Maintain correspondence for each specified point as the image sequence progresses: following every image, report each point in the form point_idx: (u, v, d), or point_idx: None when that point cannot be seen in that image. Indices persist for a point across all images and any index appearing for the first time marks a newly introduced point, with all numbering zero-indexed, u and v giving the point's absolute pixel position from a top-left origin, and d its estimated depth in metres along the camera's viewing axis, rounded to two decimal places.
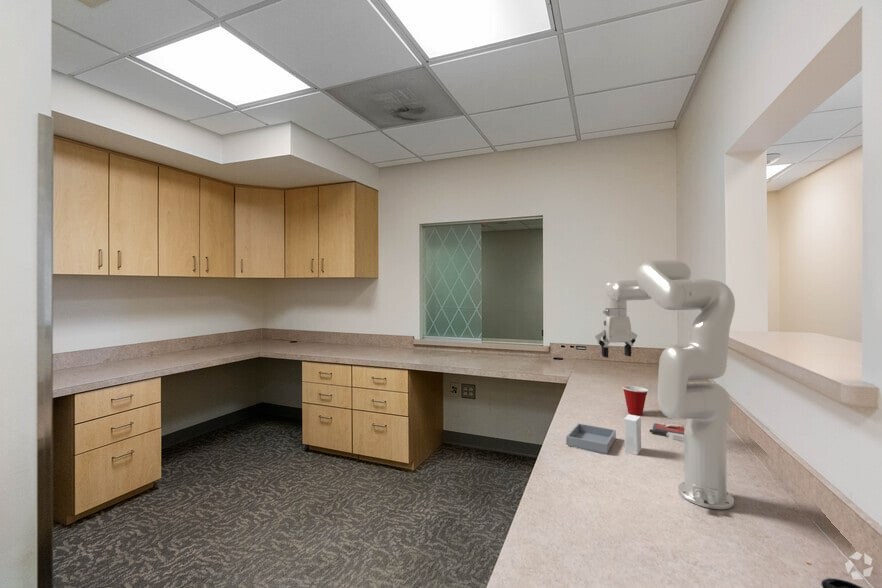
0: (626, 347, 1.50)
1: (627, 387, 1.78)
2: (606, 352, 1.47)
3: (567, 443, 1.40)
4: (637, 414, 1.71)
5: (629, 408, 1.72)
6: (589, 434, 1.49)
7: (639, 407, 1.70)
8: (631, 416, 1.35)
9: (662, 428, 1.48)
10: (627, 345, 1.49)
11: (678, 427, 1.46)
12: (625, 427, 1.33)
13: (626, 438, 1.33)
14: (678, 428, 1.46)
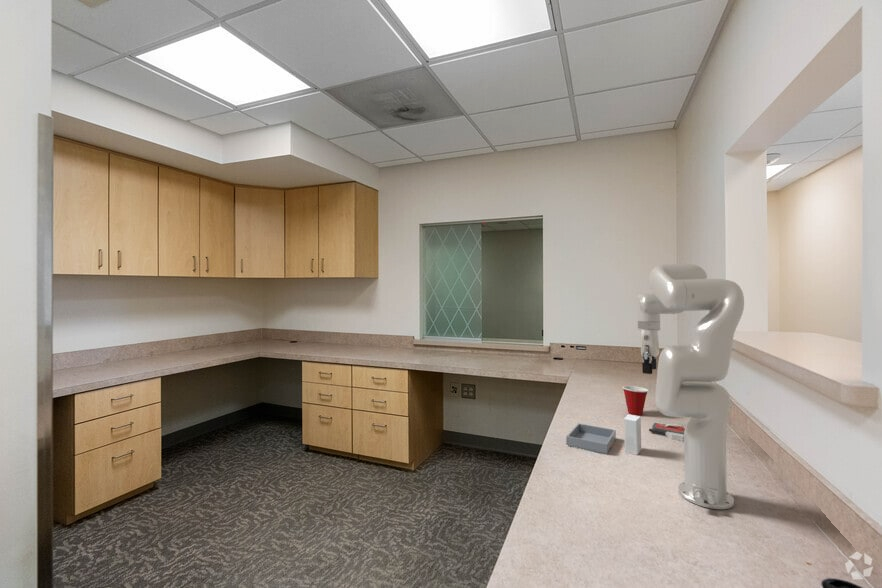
0: (650, 360, 1.47)
1: (627, 387, 1.78)
2: (651, 368, 1.39)
3: (567, 443, 1.40)
4: (637, 414, 1.71)
5: (629, 408, 1.72)
6: (589, 434, 1.49)
7: (639, 407, 1.70)
8: (631, 416, 1.35)
9: (661, 427, 1.49)
10: (651, 358, 1.47)
11: (677, 427, 1.46)
12: (625, 427, 1.33)
13: (626, 438, 1.33)
14: (677, 428, 1.46)
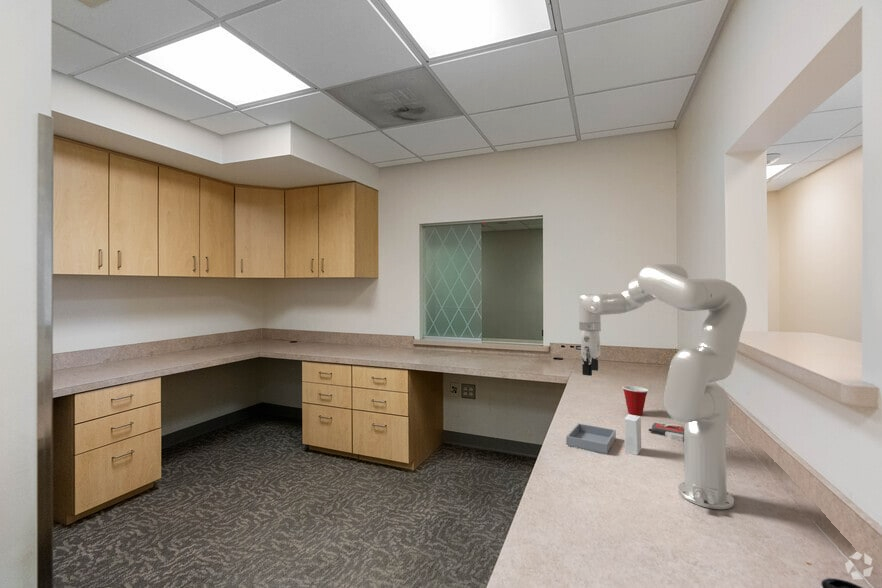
0: (592, 361, 1.46)
1: (627, 387, 1.78)
2: (590, 370, 1.37)
3: (567, 443, 1.40)
4: (637, 414, 1.71)
5: (629, 408, 1.72)
6: (589, 434, 1.49)
7: (639, 407, 1.70)
8: (631, 416, 1.35)
9: (661, 427, 1.49)
10: (593, 359, 1.46)
11: (677, 427, 1.47)
12: (625, 427, 1.33)
13: (626, 438, 1.33)
14: (677, 428, 1.47)
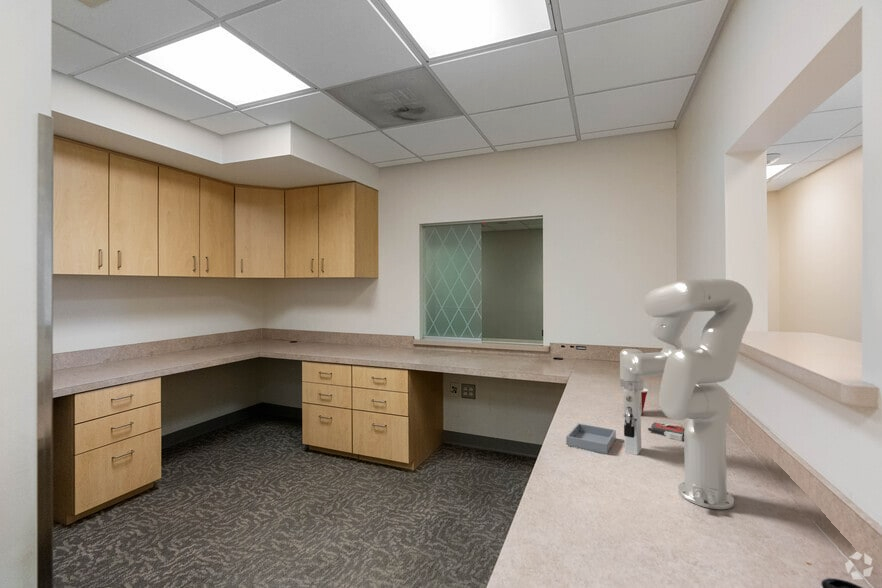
0: None
1: None
2: (633, 431, 1.30)
3: (567, 443, 1.40)
4: None
5: None
6: (589, 434, 1.49)
7: None
8: (631, 416, 1.35)
9: (660, 427, 1.49)
10: None
11: (676, 427, 1.47)
12: None
13: (626, 438, 1.33)
14: (676, 428, 1.47)
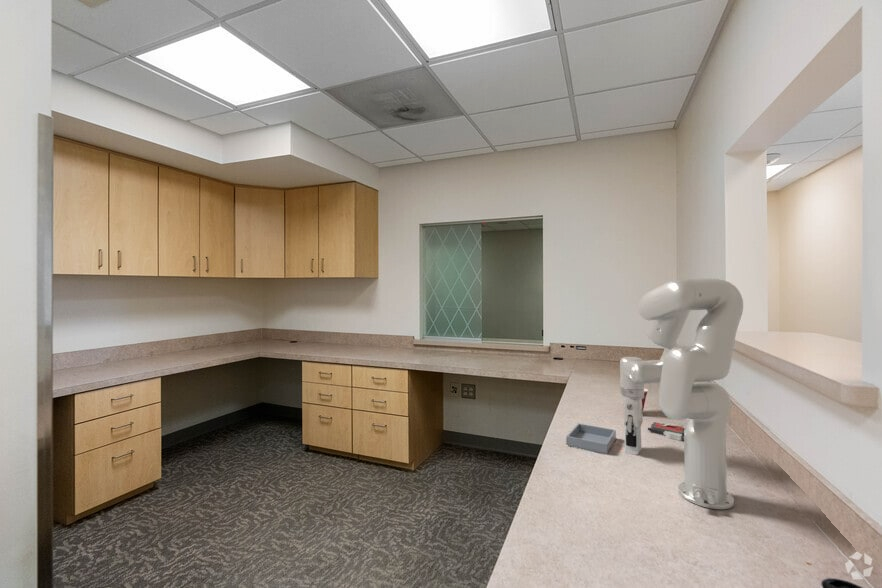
0: None
1: None
2: (635, 441, 1.31)
3: (567, 443, 1.40)
4: None
5: None
6: (589, 434, 1.49)
7: None
8: None
9: (660, 427, 1.49)
10: None
11: (676, 426, 1.47)
12: (625, 427, 1.33)
13: None
14: (676, 427, 1.47)
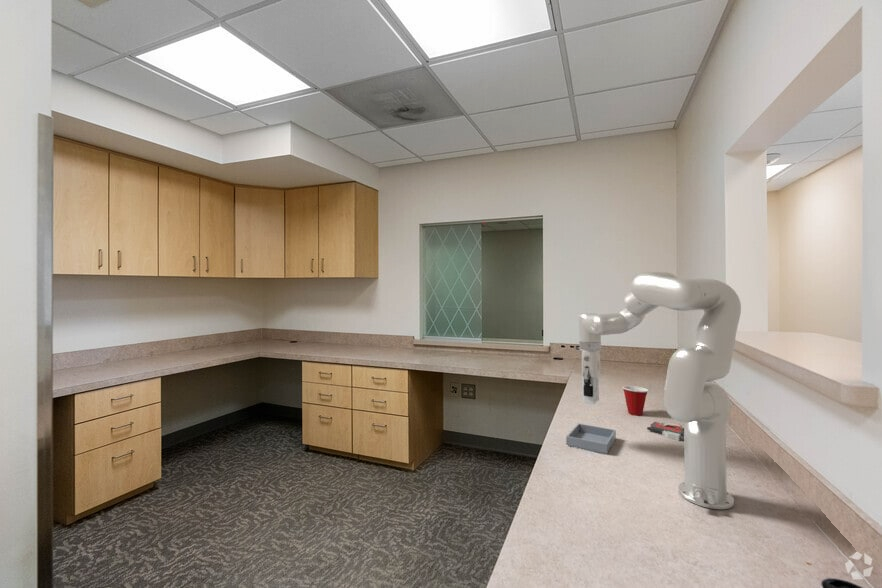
0: None
1: (627, 387, 1.78)
2: (591, 391, 1.38)
3: (567, 443, 1.40)
4: (637, 414, 1.71)
5: (629, 408, 1.72)
6: (589, 434, 1.49)
7: (639, 407, 1.70)
8: None
9: (659, 426, 1.50)
10: None
11: (675, 426, 1.47)
12: (583, 378, 1.41)
13: None
14: (675, 427, 1.47)
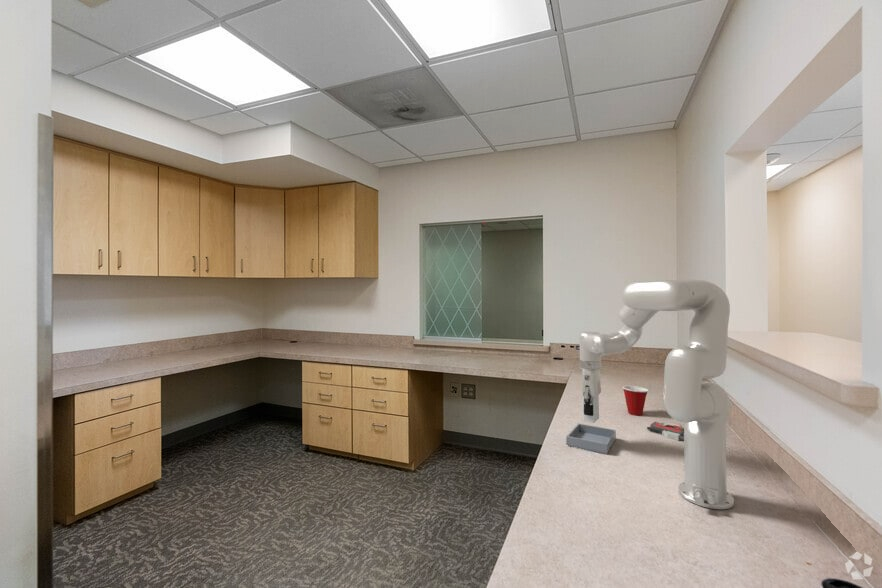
0: None
1: (627, 387, 1.78)
2: (591, 410, 1.39)
3: (567, 443, 1.40)
4: (637, 414, 1.71)
5: (629, 408, 1.72)
6: (589, 434, 1.49)
7: (639, 407, 1.70)
8: None
9: (659, 426, 1.50)
10: None
11: (675, 426, 1.47)
12: (583, 397, 1.41)
13: None
14: (675, 427, 1.47)
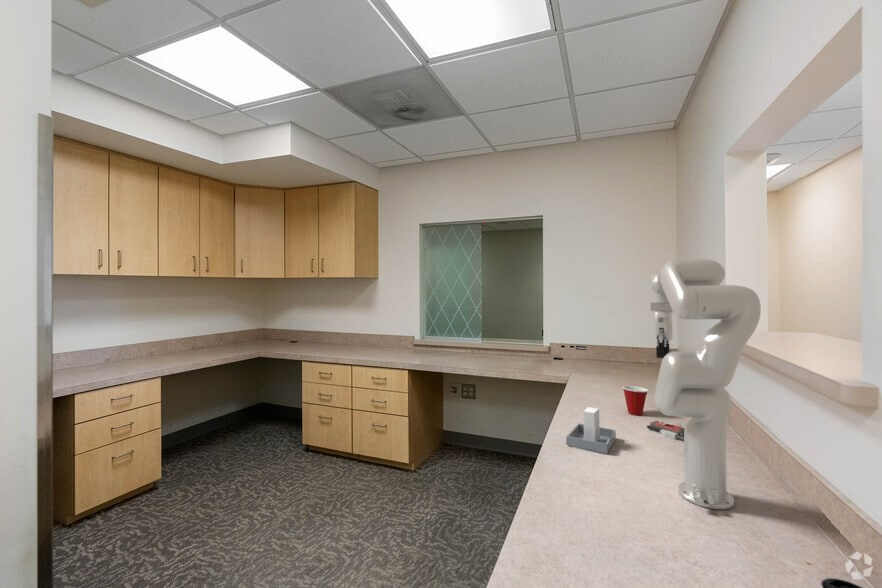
0: None
1: (627, 387, 1.78)
2: (665, 352, 1.31)
3: (567, 443, 1.40)
4: (637, 414, 1.71)
5: (629, 408, 1.72)
6: None
7: (639, 407, 1.70)
8: (590, 409, 1.43)
9: (658, 425, 1.52)
10: None
11: (674, 426, 1.48)
12: (584, 419, 1.41)
13: (585, 429, 1.40)
14: (674, 427, 1.48)
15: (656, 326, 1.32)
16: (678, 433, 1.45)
